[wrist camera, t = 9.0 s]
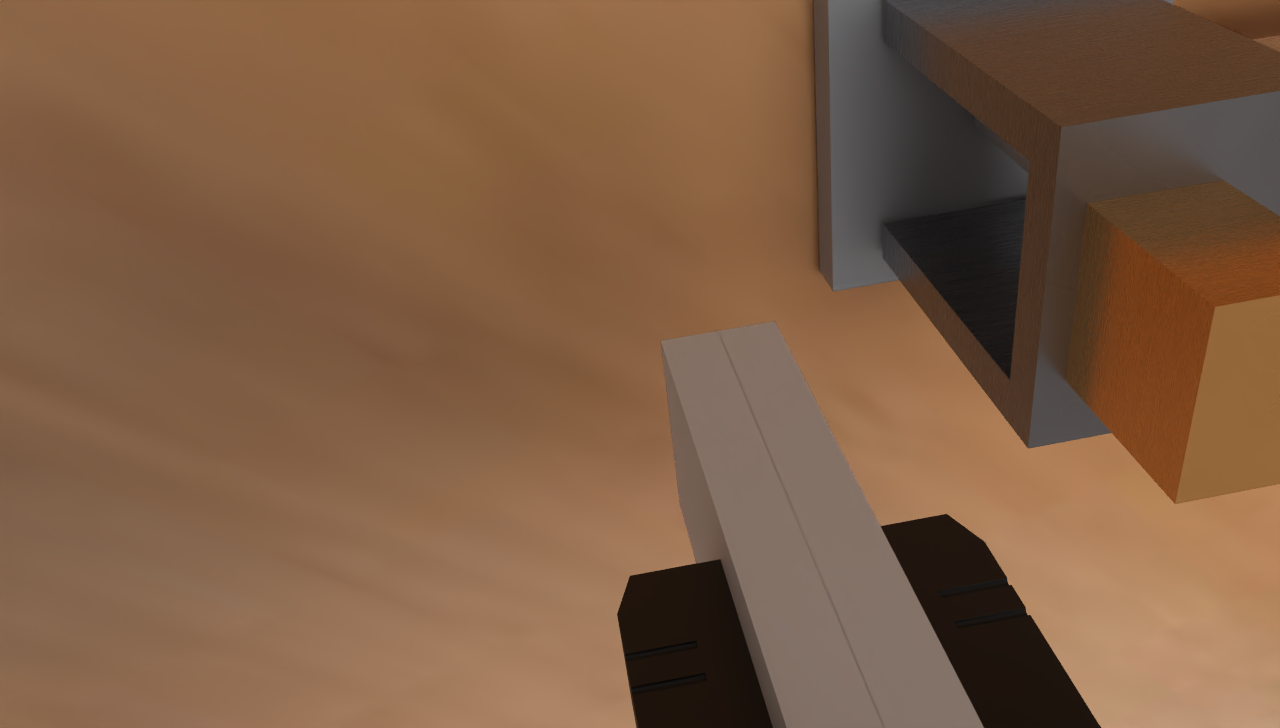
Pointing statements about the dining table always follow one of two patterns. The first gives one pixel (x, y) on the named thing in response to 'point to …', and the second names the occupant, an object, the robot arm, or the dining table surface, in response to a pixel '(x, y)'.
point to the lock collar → (1112, 230)
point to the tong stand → (891, 145)
